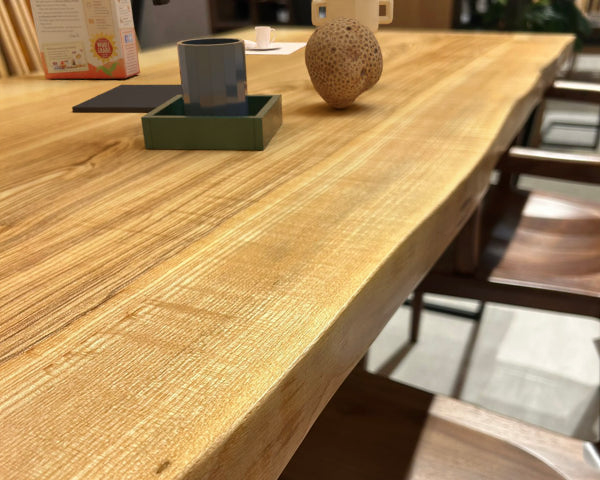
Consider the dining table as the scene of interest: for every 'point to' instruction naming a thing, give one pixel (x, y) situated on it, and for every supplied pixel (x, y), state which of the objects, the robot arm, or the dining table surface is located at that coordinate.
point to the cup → (213, 77)
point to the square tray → (213, 126)
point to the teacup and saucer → (269, 44)
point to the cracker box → (86, 38)
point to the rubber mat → (130, 99)
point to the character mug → (354, 12)
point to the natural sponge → (343, 61)
